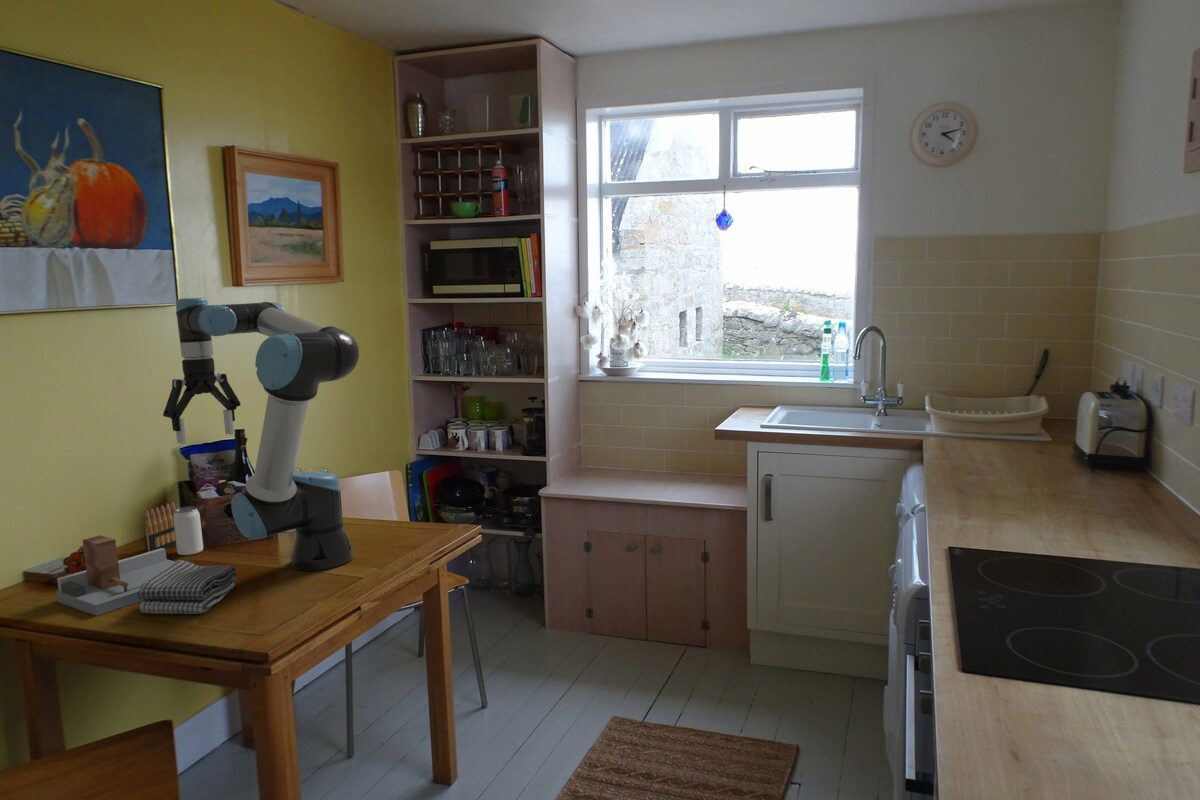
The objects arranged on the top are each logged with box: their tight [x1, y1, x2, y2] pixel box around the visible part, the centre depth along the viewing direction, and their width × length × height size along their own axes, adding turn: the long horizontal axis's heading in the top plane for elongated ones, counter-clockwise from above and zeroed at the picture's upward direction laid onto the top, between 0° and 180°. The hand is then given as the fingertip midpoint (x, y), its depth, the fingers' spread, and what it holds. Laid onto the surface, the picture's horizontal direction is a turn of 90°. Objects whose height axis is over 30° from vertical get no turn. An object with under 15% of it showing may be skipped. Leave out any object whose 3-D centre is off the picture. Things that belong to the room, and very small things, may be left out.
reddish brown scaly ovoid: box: [60, 545, 86, 574], centre depth 219 cm, size 8×8×12 cm
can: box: [173, 506, 204, 557], centre depth 235 cm, size 6×6×12 cm
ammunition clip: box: [144, 501, 177, 553], centre depth 240 cm, size 11×2×12 cm, turn 160°
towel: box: [138, 559, 239, 615], centre depth 198 cm, size 15×18×8 cm
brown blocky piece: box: [82, 535, 129, 591], centre depth 202 cm, size 14×4×11 cm, turn 56°
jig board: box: [55, 548, 176, 617], centre depth 207 cm, size 18×26×6 cm
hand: (206, 438), depth 227 cm, fingers open, 13 cm apart
